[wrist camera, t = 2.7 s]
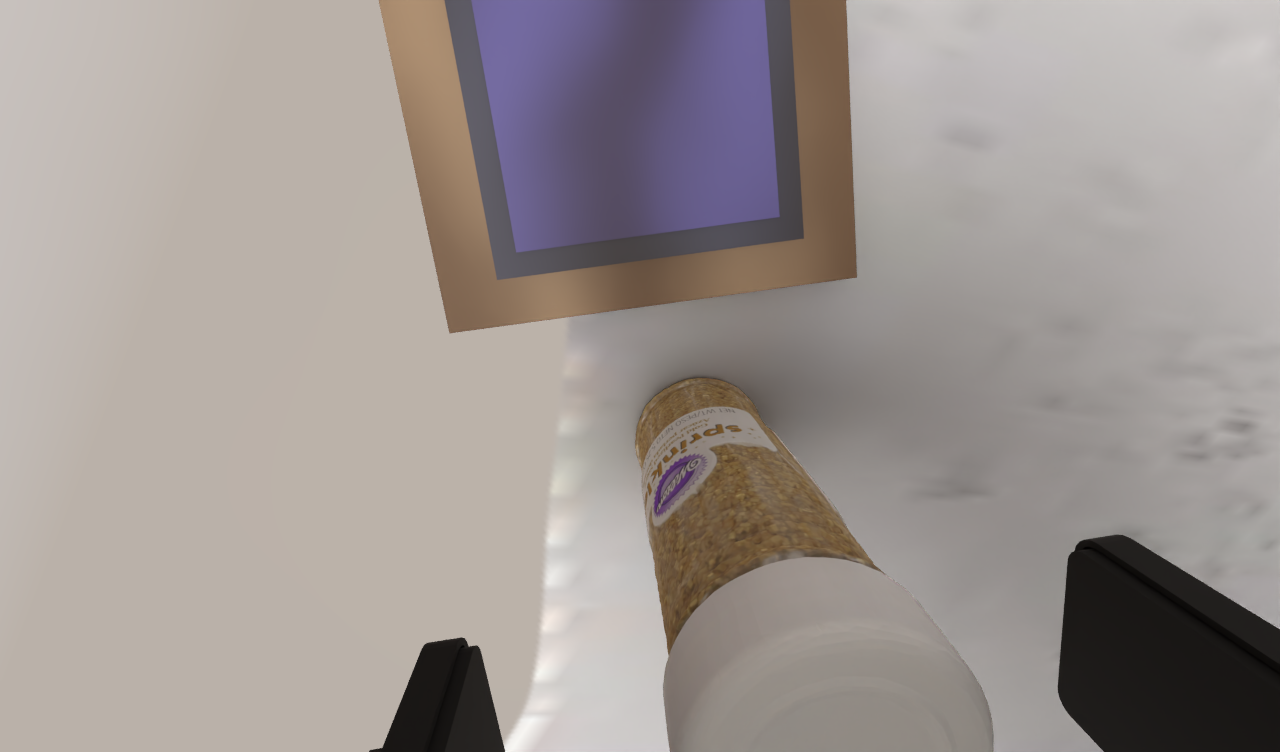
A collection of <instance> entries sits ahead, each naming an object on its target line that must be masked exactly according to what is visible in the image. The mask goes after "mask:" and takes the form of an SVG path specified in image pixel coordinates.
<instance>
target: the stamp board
mask: <svg viewBox="0 0 1280 752" xmlns="http://www.w3.org/2000/svg"><path fill="white" fill-rule="evenodd" d="M379 4H380V9H381V13H382V18H383V23H384V27H385V32H386V37H387V42H388V46H389V51H390V56H391V60H392V65H393V70H394V74H395V79H396V84H397V89H398V93H399V98H400V103H401V107H402V112H403V117H404V121H405V126H406V131H407V135H408V140H409V145H410V150H411V154H412V159H413V163H414V168H415V173H416V178H417V183H418V187H419V192H420V196H421V201H422V206H423V211H424V215H425V220H426V224H427V229H428V234H429V239H430V244H431V248H432V253H433V257H434V262H435V267H436V272H437V276H438V281H439V286H440V291H441V295H442V300H443V305H444V309H445V314H446V319H447V323H448V328H449V332H450V333H455V332H462V331H469V330H477V329H484V328H492V327H499V326H506V325H513V324H521V323H527V322H535V321H542V320H550V319H557V318H565V317H572V316H579V315H586V314H594V313H601V312H608V311H616V310H623V309H630V308H637V307H645V306H652V305H659V304H667V303H674V302H681V301H689V300H696V299H703V298H710V297H718V296H725V295H732V294H740V293H747V292H754V291H761V290H769V289H776V288H783V287H791V286H798V285H805V284H813V283H820V282H827V281H834V280H842V279H849V278H856V277H857V270H856V244H855V218H854V193H853V167H852V141H851V115H850V90H849V64H848V38H847V13H846V0H379Z"/></svg>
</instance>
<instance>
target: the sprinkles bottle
mask: <svg viewBox="0 0 1280 752" xmlns="http://www.w3.org/2000/svg"><path fill="white" fill-rule="evenodd" d="M635 449H636V455H637V458H638V460H639V463H640V466H641V468H642V493H643V500H644V507H645V515H646V523H647V531H648V537H649V542H650V546H651V549H652V552H653V559H654V562H655V576H656V579H657V583H658V591H659V597H660V603H661V609H662V615H663V622H664V629H665V633H666V638H667V649H668V655H669V657H668V661H667V664H666V668H665V675H664V683H663V697H664V706H665V715H666V724H667V733H668V741H669V747H670V752H993V726H992V718H991V714H990V710H989V706H988V703H987V700H986V698H985V695H984V693H983V690H982V688H981V686H980V684H979V683H978V681H977V679H976V678H975V676H974V674H973V673H972V671H971V670H970V668H969V667H968V666H967V664H966V663H965V661H964V660H963V659H962V658H961V656H960V655H959V654H958V652H957V651H956V650H955V648H954V647H953V646H952V644H951V643H950V642H949V641H948V639H947V638H946V637H945V635H944V634H943V633H942V631H941V630H940V629H939V628H938V626H937V625H936V624H935V623H934V621H933V620H932V619H931V617H930V616H929V615H928V614H927V612H926V611H925V610H924V609H923V607H922V606H921V605H920V604H919V602H918V601H917V600H916V599H915V598H914V597H913V596H912V595H911V594H910V593H909V592H908V591H907V590H906V589H905V588H904V587H902V586H901V585H899V584H898V583H897V582H895V581H894V580H893V579H891V578H890V577H888V576H887V575H885V574H884V573H883V572H882V571H881V570H880V569H879V568H877V567H876V566H875V565H874V564H873V562H872V561H871V559H870V558H869V557H868V555H867V554H866V553H865V551H864V550H863V549H862V547H861V546H860V545H859V544H858V543H857V541H856V540H855V538H854V537H853V536H852V535H851V533H850V532H849V530H848V528H847V526H846V524H845V522H844V520H843V518H842V516H841V515H840V514H839V512H838V511H837V509H836V508H835V507H834V505H833V504H832V503H831V501H830V500H829V499H828V497H827V496H826V495H825V494H824V492H823V491H822V490H821V489H820V487H819V486H818V485H817V484H816V482H815V481H814V480H813V479H812V477H811V476H810V475H809V474H808V472H807V471H806V470H805V468H804V467H803V466H802V465H801V464H800V463H799V461H798V460H797V459H796V458H795V456H794V455H793V454H792V453H791V451H790V450H789V449H788V448H787V447H786V445H785V444H784V443H783V442H782V440H781V439H780V438H779V437H778V436H777V434H776V433H775V432H774V431H772V430H771V429H769V428H767V427H766V426H765V424H764V423H763V422H762V420H761V419H760V416H759V414H758V412H757V409H756V407H755V405H754V404H753V403H752V402H751V400H750V399H749V398H748V397H747V396H746V395H745V394H744V393H743V392H742V391H741V390H740V389H738V388H737V387H735V386H733V385H731V384H729V383H727V382H724V381H721V380H717V379H709V378H694V379H687V380H683V381H680V382H678V383H675V384H673V385H671V386H670V387H669V388H666V389H664V390H663V391H662V392H660V393H659V394H657V395H656V396H655V397H654V398H653V399H652V400H651V401H650V402H649V403H648V404H647V405H646V407H645V408H644V411H643V413H642V415H641V417H640V420H639V422H638V426H637V431H636V440H635Z"/></svg>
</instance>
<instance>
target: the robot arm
mask: <svg viewBox="0 0 1280 752" xmlns="http://www.w3.org/2000/svg"><path fill="white" fill-rule="evenodd" d="M1058 693H1059V697H1060V700H1061V702H1062V704H1063V706H1064V708H1065V710H1066V711H1067V712H1068V714H1069V715H1070V716H1071V717H1072V718H1073V719H1074V720H1075V721H1076V723H1077V724H1078V725H1079V726H1080V727H1081V728H1082V729H1083V730H1084V731H1085V732H1086V733H1087V734H1088V735H1089V736H1090V737H1091V738H1092V740H1093V741H1094V742H1095V743H1096V744H1097V745H1098V746H1099V747H1100V748H1101V749H1102V750H1103V751H1104V752H1280V629H1278V628H1276V627H1275V626H1273V625H1271V624H1270V623H1268V622H1266V621H1265V620H1263V619H1262V618H1260V617H1258V616H1257V615H1255V614H1253V613H1252V612H1250V611H1248V610H1247V609H1245V608H1244V607H1242V606H1240V605H1239V604H1237V603H1235V602H1234V601H1232V600H1230V599H1229V598H1227V597H1226V596H1224V595H1222V594H1221V593H1219V592H1217V591H1216V590H1214V589H1212V588H1211V587H1209V586H1208V585H1206V584H1204V583H1203V582H1201V581H1199V580H1198V579H1196V578H1194V577H1193V576H1191V575H1190V574H1188V573H1186V572H1185V571H1183V570H1181V569H1180V568H1178V567H1176V566H1175V565H1173V564H1172V563H1170V562H1168V561H1167V560H1165V559H1163V558H1162V557H1160V556H1158V555H1157V554H1155V553H1154V552H1152V551H1150V550H1149V549H1147V548H1145V547H1144V546H1142V545H1140V544H1139V543H1137V542H1136V541H1134V540H1132V539H1131V538H1128V537H1126V536H1124V535H1112V536H1105V537H1099V538H1093V539H1086V540H1083V541H1080V542H1079V543H1078V544H1077V545H1076V548H1075V551H1074V552H1072V553H1071V554H1070V555H1069V558H1068V565H1067V578H1066V590H1065V603H1064V615H1063V628H1062V641H1061V653H1060V666H1059V678H1058ZM369 752H505V749H504V745H503V741H502V737H501V733H500V729H499V725H498V721H497V716H496V712H495V708H494V704H493V700H492V696H491V692H490V687H489V684H488V679H487V675H486V671H485V668H484V663H483V659H482V654H481V651H480V649H479V647H478V646H470V647H468V644H467V641H466V640H465V638H457V639H450V640H443V641H437V642H431V643H427V644H425V645H424V646H423V648H422V650H421V652H420V655H419V657H418V660H417V662H416V665H415V667H414V670H413V672H412V675H411V677H410V680H409V682H408V685H407V688H406V690H405V693H404V695H403V698H402V700H401V703H400V705H399V708H398V710H397V713H396V715H395V718H394V720H393V723H392V725H391V728H390V731H389V733H388V735H387V738H386V741H385V743H384V745H383V748H380V749H374V750H370V751H369Z"/></svg>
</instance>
